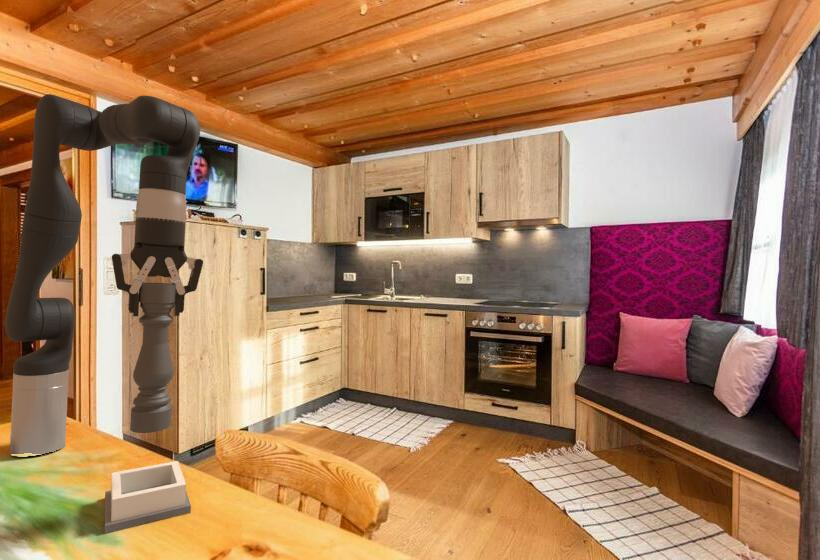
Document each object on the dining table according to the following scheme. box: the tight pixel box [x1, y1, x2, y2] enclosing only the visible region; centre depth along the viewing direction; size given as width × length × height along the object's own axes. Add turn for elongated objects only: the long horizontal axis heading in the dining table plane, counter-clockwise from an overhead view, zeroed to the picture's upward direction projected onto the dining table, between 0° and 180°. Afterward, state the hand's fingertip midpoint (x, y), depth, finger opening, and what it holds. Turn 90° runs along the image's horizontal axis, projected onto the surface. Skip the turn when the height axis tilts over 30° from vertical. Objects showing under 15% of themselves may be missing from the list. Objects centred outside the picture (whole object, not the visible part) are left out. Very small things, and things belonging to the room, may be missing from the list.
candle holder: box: [129, 282, 176, 434], centre depth 75 cm, size 6×6×25 cm
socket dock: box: [104, 460, 192, 534], centre depth 75 cm, size 12×12×5 cm
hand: (156, 315), depth 75 cm, fingers closed on candle holder, 5 cm apart
